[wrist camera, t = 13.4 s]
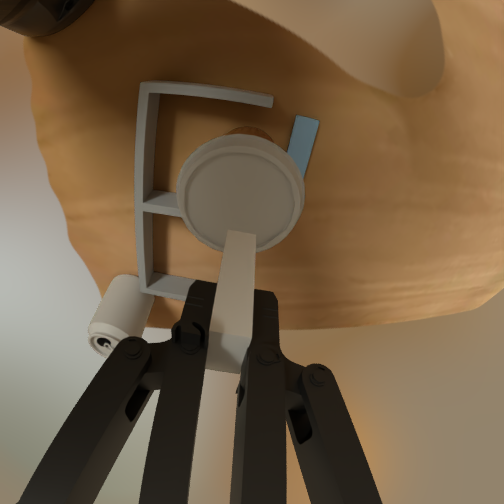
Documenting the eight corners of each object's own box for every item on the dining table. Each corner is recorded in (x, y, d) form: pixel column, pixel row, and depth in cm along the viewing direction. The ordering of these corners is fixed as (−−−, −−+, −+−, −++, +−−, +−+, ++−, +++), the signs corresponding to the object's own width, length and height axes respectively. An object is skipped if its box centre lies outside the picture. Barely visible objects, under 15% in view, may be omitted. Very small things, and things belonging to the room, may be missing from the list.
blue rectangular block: (296, 114, 26) (297, 115, 26) (318, 120, 27) (319, 121, 26) (272, 206, 33) (273, 208, 32) (292, 210, 33) (293, 212, 33)
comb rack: (153, 80, 24) (140, 82, 21) (272, 94, 25) (274, 98, 22) (147, 275, 40) (140, 292, 37) (230, 290, 41) (228, 308, 38)
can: (129, 262, 39) (97, 325, 29) (165, 294, 42) (144, 359, 32) (105, 283, 41) (75, 341, 32) (138, 310, 45) (116, 369, 35)
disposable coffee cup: (217, 202, 33) (198, 268, 23) (191, 125, 27) (152, 161, 18) (298, 185, 31) (315, 247, 21) (280, 102, 26) (293, 124, 16)
